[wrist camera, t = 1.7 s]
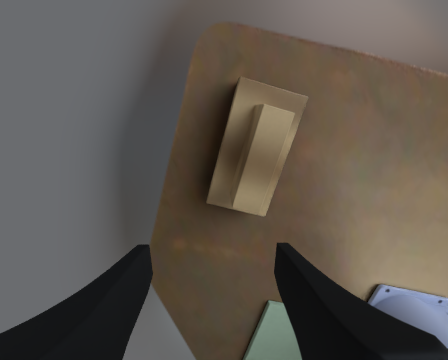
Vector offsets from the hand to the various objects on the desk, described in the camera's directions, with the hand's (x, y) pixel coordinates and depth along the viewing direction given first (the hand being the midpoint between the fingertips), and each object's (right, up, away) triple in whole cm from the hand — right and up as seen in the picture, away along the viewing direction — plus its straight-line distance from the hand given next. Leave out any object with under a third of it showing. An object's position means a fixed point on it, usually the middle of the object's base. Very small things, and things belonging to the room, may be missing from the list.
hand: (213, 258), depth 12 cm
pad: (+8, -17, +15) cm, 24 cm away
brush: (+3, +7, +7) cm, 11 cm away
